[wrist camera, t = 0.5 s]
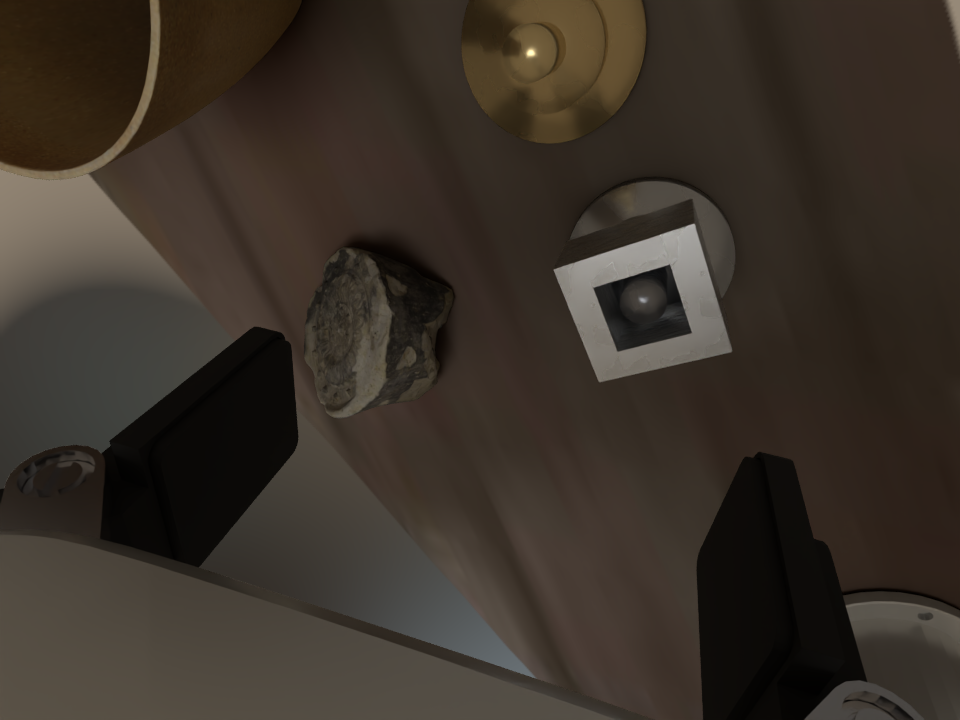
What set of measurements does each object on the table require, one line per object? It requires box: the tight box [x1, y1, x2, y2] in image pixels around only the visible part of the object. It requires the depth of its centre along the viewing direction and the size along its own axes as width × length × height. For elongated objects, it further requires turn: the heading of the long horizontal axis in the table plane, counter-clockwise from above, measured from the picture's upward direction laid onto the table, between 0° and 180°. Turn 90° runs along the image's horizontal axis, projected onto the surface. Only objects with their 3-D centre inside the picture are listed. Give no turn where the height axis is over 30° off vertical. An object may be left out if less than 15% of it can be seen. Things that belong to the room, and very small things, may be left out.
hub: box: [461, 0, 647, 143], centre depth 27 cm, size 9×9×6 cm
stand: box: [570, 177, 735, 324], centre depth 31 cm, size 9×9×6 cm
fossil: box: [304, 247, 454, 418], centre depth 38 cm, size 11×9×10 cm
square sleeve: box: [553, 199, 732, 382], centre depth 30 cm, size 6×6×4 cm
